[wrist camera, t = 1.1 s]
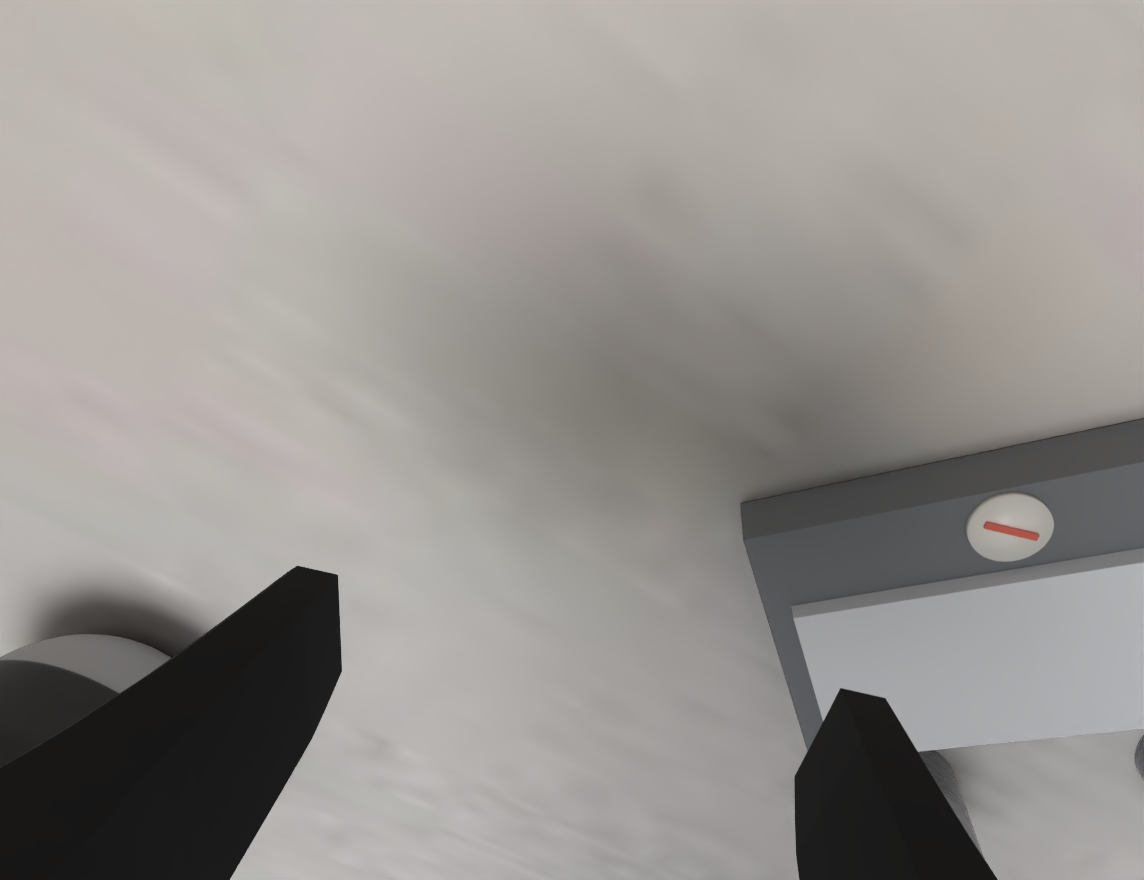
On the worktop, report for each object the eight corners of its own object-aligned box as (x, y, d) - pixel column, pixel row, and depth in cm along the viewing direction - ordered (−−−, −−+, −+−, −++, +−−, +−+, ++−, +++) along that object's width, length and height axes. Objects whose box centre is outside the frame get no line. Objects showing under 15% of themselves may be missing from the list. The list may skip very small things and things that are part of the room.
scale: (1258, 658, 19) (1323, 725, 17) (803, 713, 23) (812, 774, 21) (1262, 393, 16) (1342, 437, 14) (740, 503, 20) (744, 551, 18)
